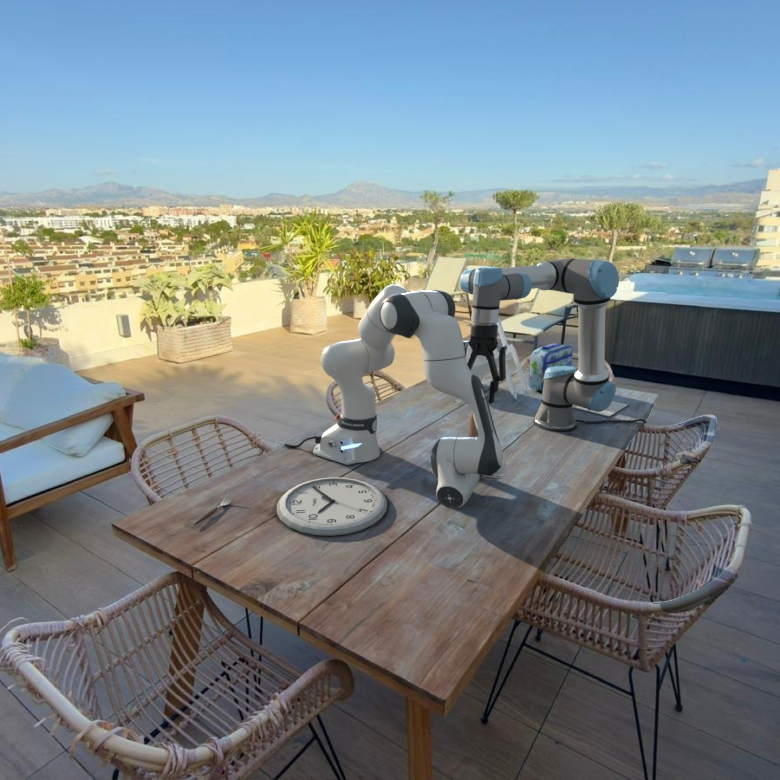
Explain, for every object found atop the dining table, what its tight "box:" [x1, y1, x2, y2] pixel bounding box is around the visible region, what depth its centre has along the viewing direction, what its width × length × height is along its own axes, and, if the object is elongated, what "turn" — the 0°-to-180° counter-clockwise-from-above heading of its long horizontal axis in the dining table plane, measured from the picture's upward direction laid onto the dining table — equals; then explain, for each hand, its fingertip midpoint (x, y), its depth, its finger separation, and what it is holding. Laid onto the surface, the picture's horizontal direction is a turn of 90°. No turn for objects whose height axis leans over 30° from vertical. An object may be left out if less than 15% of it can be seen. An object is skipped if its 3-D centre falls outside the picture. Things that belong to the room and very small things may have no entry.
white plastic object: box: [463, 317, 531, 400], centre depth 245 cm, size 37×45×31 cm
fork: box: [193, 490, 237, 526], centre depth 138 cm, size 3×16×2 cm, turn 160°
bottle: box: [468, 410, 478, 437], centre depth 158 cm, size 5×5×26 cm
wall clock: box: [276, 476, 388, 537], centre depth 142 cm, size 30×2×30 cm
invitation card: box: [573, 400, 629, 418], centre depth 226 cm, size 21×1×15 cm
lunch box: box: [528, 343, 574, 392], centre depth 249 cm, size 26×11×21 cm, turn 134°
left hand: (475, 454), depth 160 cm, fingers closed on bottle, 5 cm apart
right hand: (479, 400), depth 154 cm, fingers open, 7 cm apart
